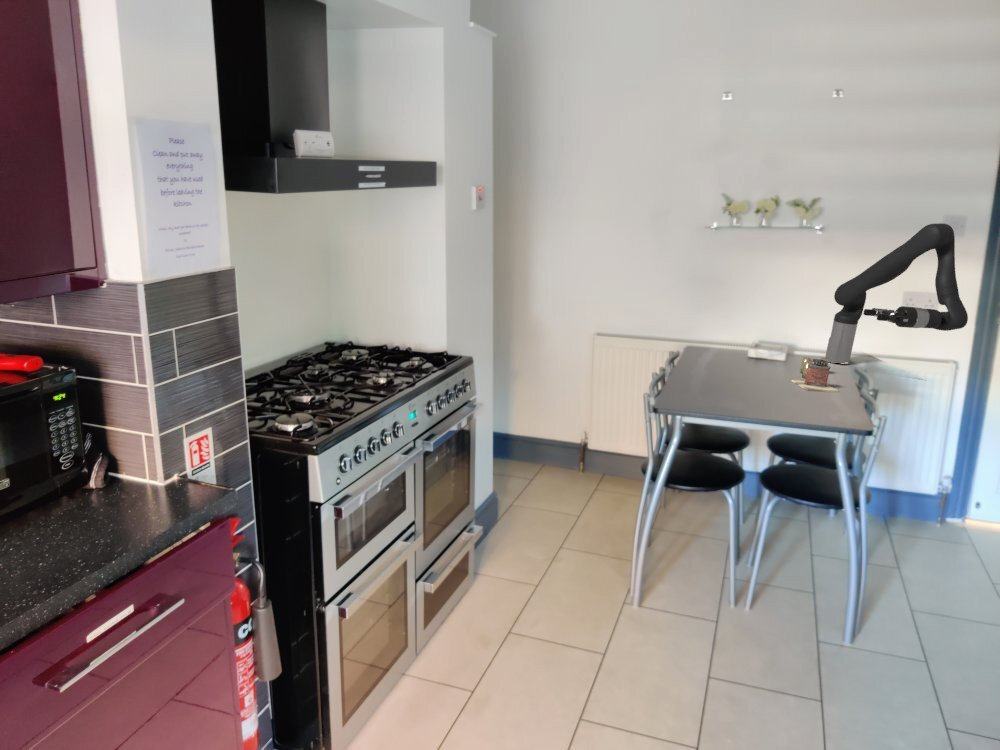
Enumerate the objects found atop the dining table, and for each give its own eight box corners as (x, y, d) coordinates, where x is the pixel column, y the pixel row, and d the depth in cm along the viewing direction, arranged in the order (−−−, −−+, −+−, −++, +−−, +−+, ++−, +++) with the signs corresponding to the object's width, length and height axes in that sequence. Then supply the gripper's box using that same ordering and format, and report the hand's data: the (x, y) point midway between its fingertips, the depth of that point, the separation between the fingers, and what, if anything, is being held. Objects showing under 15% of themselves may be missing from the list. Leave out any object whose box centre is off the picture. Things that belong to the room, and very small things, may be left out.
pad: (791, 381, 305) (791, 379, 305) (821, 382, 307) (821, 381, 306) (807, 390, 293) (807, 389, 293) (838, 392, 295) (838, 390, 295)
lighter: (824, 384, 301) (830, 358, 299) (827, 387, 298) (833, 361, 295) (802, 382, 301) (808, 356, 299) (805, 385, 298) (811, 358, 295)
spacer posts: (790, 370, 321) (793, 355, 319) (823, 372, 323) (826, 357, 321) (804, 378, 310) (807, 363, 309) (838, 380, 312) (841, 365, 311)
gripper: (902, 303, 303) (862, 300, 301) (926, 311, 290) (884, 308, 287) (897, 323, 305) (857, 320, 303) (921, 331, 292) (880, 329, 289)
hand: (870, 314), depth 295 cm, fingers open, 8 cm apart
